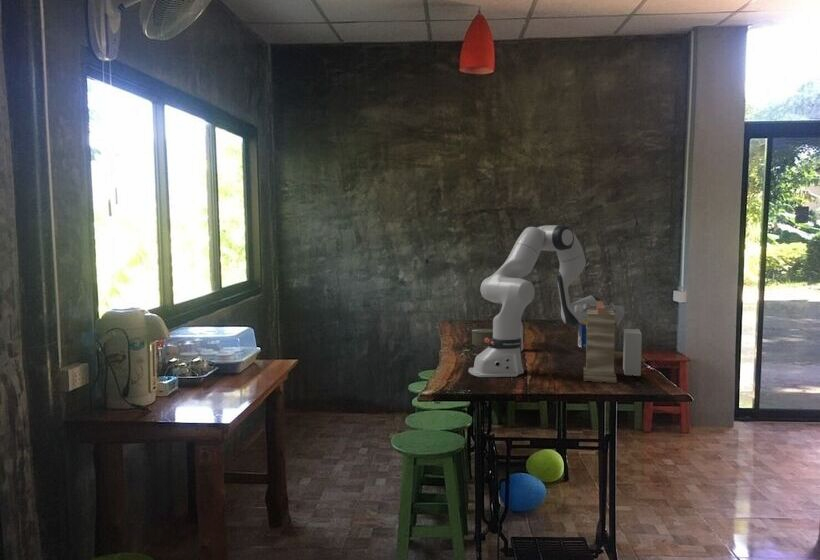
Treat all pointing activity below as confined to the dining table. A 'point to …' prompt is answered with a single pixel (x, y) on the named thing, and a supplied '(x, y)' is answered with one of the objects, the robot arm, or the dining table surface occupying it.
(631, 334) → the seat block
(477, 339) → the can
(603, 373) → the stand
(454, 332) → the dining table surface
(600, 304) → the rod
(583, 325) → the beverage box
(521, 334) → the milk bottle
